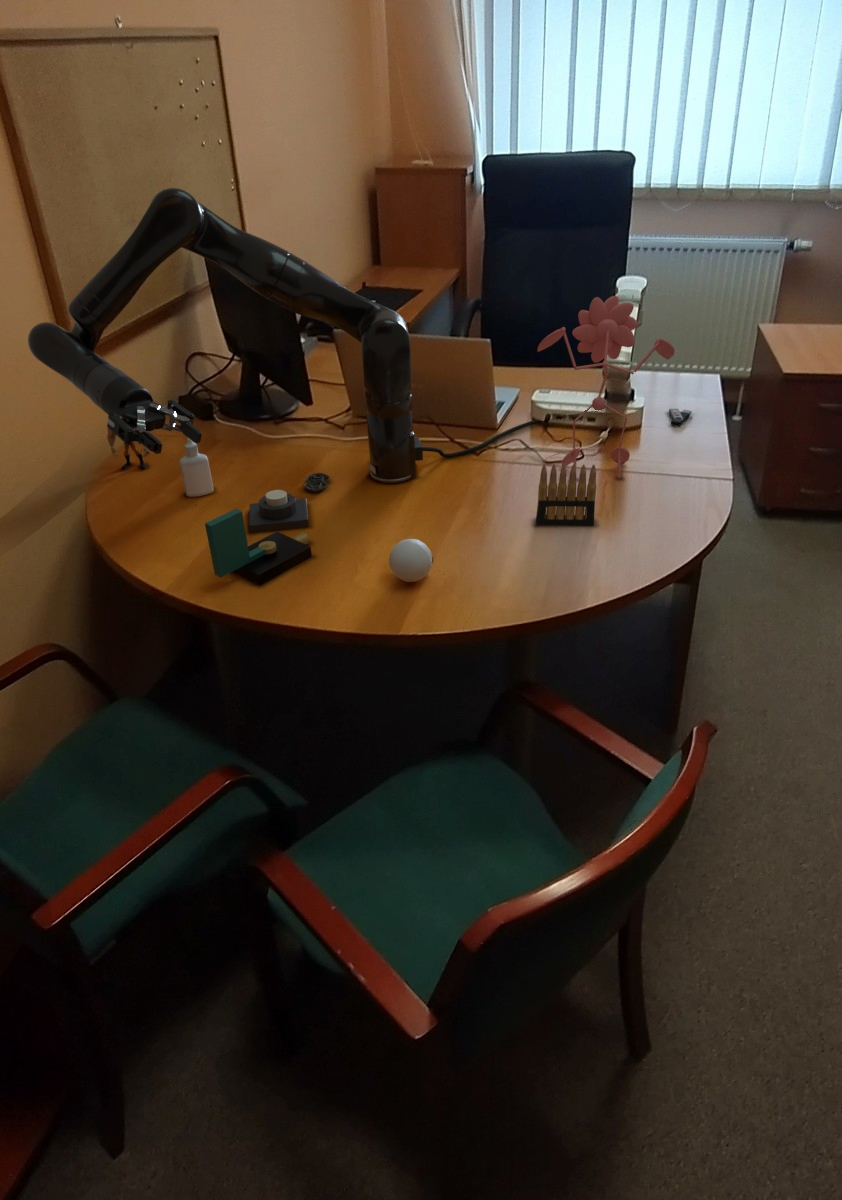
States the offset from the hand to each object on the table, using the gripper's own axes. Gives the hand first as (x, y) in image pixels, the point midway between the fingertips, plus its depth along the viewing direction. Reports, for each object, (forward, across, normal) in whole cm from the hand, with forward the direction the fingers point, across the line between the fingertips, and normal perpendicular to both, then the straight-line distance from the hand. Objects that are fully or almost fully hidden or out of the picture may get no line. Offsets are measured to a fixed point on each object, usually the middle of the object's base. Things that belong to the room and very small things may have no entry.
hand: (180, 443), depth 142 cm
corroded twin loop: (+6, +34, +15) cm, 38 cm away
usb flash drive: (+50, +104, -12) cm, 116 cm away
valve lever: (+18, +2, +13) cm, 23 cm away
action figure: (-31, +21, +31) cm, 49 cm away
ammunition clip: (+53, +46, -4) cm, 70 cm away
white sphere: (+41, +17, +5) cm, 45 cm away
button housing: (+10, +20, +16) cm, 27 cm away
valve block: (+20, +8, +14) cm, 26 cm away
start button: (+9, +19, +13) cm, 24 cm away
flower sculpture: (+46, +72, -5) cm, 85 cm away
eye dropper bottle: (-11, +20, +24) cm, 32 cm away
